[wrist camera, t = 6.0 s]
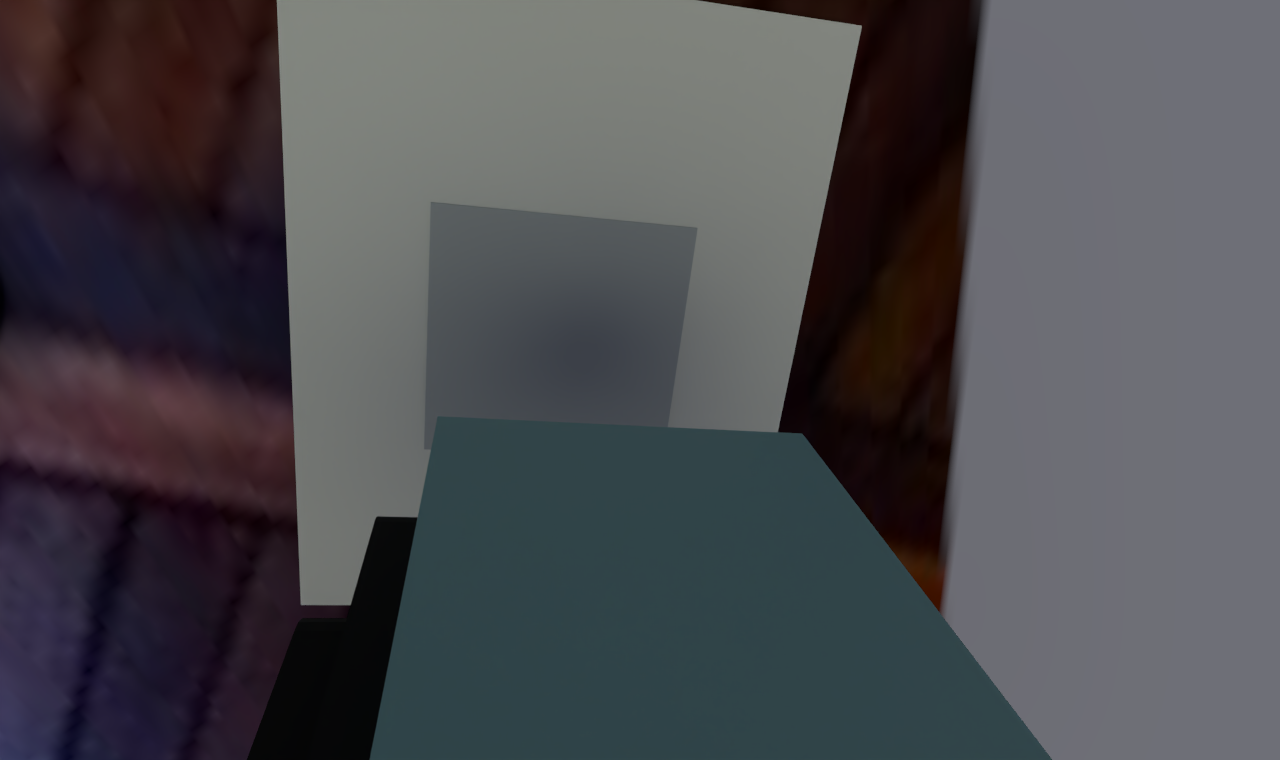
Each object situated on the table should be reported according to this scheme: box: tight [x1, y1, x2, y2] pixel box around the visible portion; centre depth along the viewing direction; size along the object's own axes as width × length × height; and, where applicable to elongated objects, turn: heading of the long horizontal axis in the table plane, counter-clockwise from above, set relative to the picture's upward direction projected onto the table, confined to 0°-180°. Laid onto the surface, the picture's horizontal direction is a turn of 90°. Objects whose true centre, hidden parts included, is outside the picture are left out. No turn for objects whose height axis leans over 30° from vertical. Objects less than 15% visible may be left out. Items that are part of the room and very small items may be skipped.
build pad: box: [277, 0, 862, 605], centre depth 22 cm, size 18×14×1 cm
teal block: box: [370, 416, 1052, 760], centre depth 9 cm, size 5×5×6 cm
